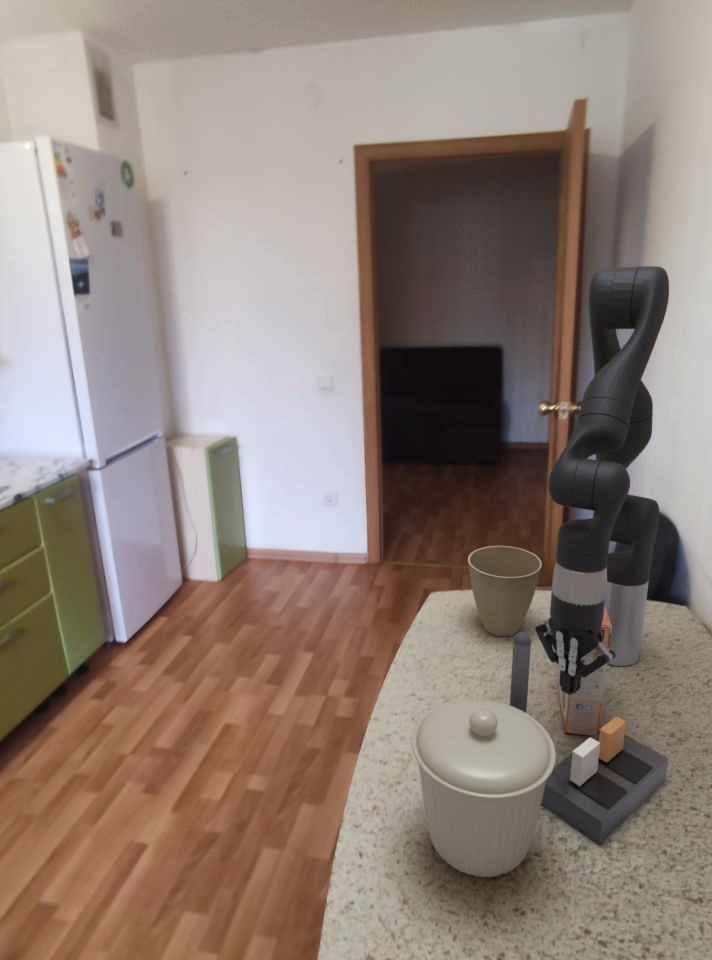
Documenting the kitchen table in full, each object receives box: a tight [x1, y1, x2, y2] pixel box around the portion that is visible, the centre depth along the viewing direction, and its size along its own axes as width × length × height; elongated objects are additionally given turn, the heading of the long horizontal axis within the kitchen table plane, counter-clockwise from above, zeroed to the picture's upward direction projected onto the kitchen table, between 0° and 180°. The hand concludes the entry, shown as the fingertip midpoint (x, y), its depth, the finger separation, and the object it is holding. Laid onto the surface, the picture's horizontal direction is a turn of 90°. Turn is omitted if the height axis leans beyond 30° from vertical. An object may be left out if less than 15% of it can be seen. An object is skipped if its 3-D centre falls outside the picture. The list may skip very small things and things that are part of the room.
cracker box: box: [556, 606, 612, 737], centre depth 112 cm, size 14×6×21 cm, turn 168°
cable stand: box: [509, 631, 532, 713], centre depth 96 cm, size 7×7×25 cm
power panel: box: [541, 730, 669, 846], centre depth 97 cm, size 18×10×4 cm, turn 129°
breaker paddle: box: [599, 715, 627, 763], centre depth 98 cm, size 4×2×5 cm, turn 129°
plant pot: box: [467, 545, 542, 637], centre depth 139 cm, size 15×15×16 cm
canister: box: [411, 698, 557, 878], centre depth 86 cm, size 18×18×21 cm
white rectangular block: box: [570, 736, 600, 786], centre depth 94 cm, size 4×2×5 cm, turn 129°
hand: (569, 691), depth 102 cm, fingers closed
